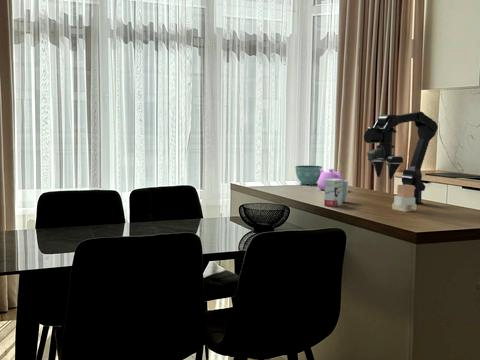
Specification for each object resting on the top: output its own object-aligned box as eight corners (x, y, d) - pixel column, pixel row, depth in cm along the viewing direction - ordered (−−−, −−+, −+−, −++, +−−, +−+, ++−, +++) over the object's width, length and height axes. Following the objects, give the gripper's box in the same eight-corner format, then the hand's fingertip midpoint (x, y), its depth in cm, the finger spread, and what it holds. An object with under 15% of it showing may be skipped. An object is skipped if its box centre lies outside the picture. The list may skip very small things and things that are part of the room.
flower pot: (293, 185, 332) (294, 166, 330) (295, 182, 347) (296, 165, 346) (321, 185, 329) (321, 167, 328) (322, 183, 345) (322, 165, 344)
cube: (397, 196, 241) (397, 184, 241) (407, 196, 242) (407, 184, 242) (403, 197, 236) (404, 186, 236) (413, 197, 238) (414, 185, 237)
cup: (349, 201, 264) (349, 180, 263) (344, 203, 257) (345, 181, 256) (333, 200, 267) (333, 179, 266) (328, 202, 260) (329, 181, 259)
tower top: (407, 202, 243) (408, 195, 243) (415, 204, 237) (415, 197, 237) (394, 202, 242) (394, 196, 242) (401, 205, 236) (401, 197, 236)
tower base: (403, 209, 245) (403, 202, 245) (416, 211, 239) (416, 204, 239) (392, 210, 241) (392, 203, 241) (404, 212, 235) (404, 205, 235)
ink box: (333, 207, 246) (334, 180, 245) (323, 205, 249) (324, 179, 248) (342, 204, 253) (343, 178, 251) (332, 203, 256) (333, 178, 254)
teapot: (350, 191, 304) (351, 169, 302) (330, 192, 298) (330, 170, 296) (328, 187, 321) (329, 167, 320) (309, 188, 315) (309, 167, 314)
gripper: (358, 142, 255) (357, 176, 257) (382, 143, 238) (381, 180, 239) (379, 142, 259) (378, 175, 261) (404, 143, 242) (403, 179, 243)
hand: (384, 177), depth 251 cm, fingers open, 9 cm apart
